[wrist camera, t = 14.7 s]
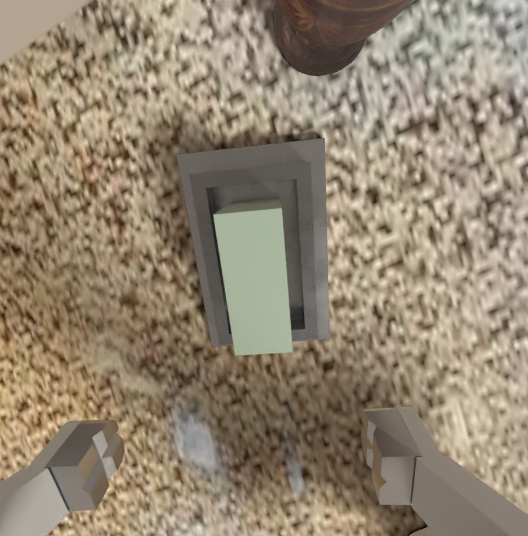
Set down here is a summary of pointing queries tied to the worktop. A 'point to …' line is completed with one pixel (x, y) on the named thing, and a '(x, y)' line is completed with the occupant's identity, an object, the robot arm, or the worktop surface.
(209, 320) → the duct collar
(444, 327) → the worktop surface
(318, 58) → the mortar and pestle
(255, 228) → the block
